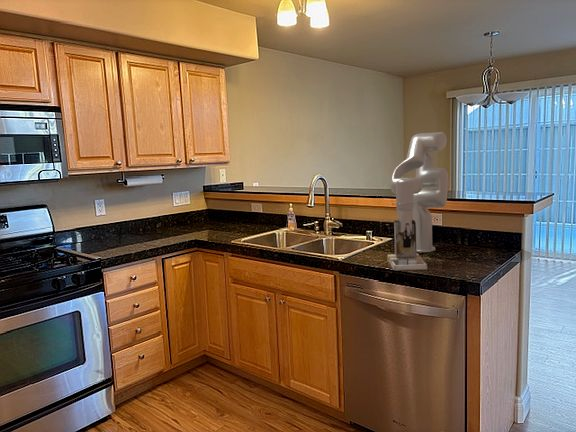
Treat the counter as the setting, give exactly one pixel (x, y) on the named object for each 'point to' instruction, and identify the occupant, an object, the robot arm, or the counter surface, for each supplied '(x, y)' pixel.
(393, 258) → the platform
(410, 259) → the offcut
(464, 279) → the counter surface
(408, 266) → the tray
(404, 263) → the offcut
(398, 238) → the coffee box
